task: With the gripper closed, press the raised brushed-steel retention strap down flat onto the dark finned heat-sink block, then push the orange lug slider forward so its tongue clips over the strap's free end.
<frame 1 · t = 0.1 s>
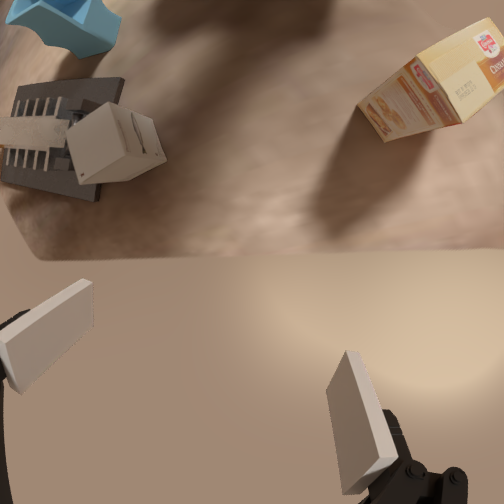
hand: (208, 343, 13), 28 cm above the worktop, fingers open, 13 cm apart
vase: (100, 36, 34), on the worktop
heatsink: (55, 134, 38), on the worktop
strap: (18, 131, 27), point 12 cm above the worktop, hinge at 30.0°
supplement box: (140, 149, 39), on the worktop
coffeecake box: (404, 100, 33), on the worktop
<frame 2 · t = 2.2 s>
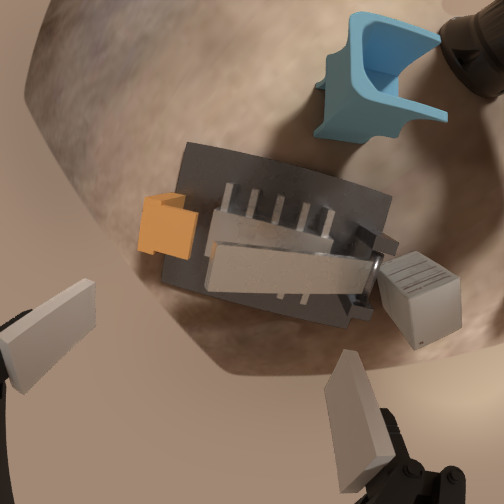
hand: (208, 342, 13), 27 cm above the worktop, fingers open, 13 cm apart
vase: (343, 113, 34), on the worktop
heatsink: (280, 239, 39), on the worktop
strap: (310, 273, 28), point 12 cm above the worktop, hinge at 30.0°
lug slider: (178, 224, 34), point 6 cm above the worktop, slide at 0.0 cm
supplement box: (399, 278, 39), on the worktop
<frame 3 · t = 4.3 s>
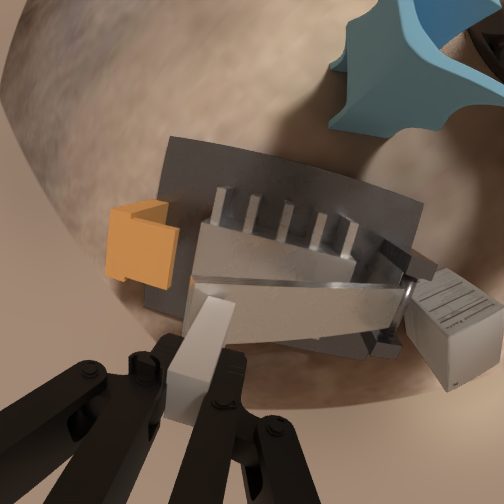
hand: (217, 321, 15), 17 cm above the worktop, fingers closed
vase: (363, 101, 26), on the worktop
heatsink: (287, 257, 31), on the worktop
strap: (328, 310, 20), point 12 cm above the worktop, hinge at 29.2°, touching gripper
lug slider: (157, 240, 26), point 6 cm above the worktop, slide at 0.0 cm
supplement box: (426, 300, 31), on the worktop
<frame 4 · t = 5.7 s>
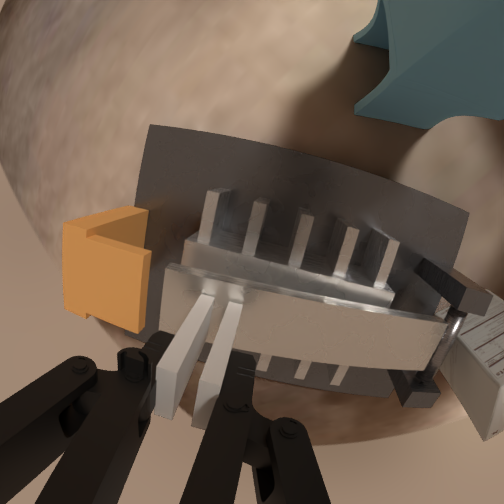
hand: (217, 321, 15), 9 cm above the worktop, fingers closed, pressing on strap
vase: (396, 82, 19), on the worktop
heatsink: (301, 279, 24), on the worktop
strap: (333, 332, 16), point 8 cm above the worktop, hinge at 6.1°, touching gripper
lug slider: (130, 262, 19), point 6 cm above the worktop, slide at 0.0 cm
supplement box: (461, 326, 24), on the worktop
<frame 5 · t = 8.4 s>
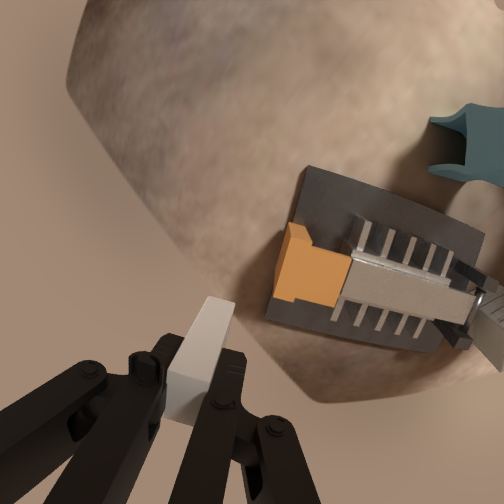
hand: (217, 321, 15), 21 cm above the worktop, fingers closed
vase: (451, 150, 30), on the worktop
heatsink: (391, 273, 35), on the worktop
strap: (422, 296, 29), point 7 cm above the worktop, hinge at 0.2°
lug slider: (309, 262, 30), point 6 cm above the worktop, slide at 0.0 cm
supplement box: (477, 305, 35), on the worktop
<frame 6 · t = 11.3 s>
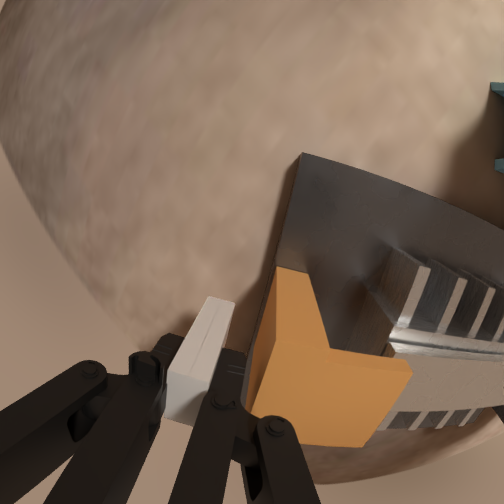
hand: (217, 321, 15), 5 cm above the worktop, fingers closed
heatsink: (435, 333, 20), on the worktop
strap: (489, 382, 13), point 7 cm above the worktop, hinge at 0.2°
lug slider: (316, 355, 14), point 6 cm above the worktop, slide at 0.7 cm, touching gripper
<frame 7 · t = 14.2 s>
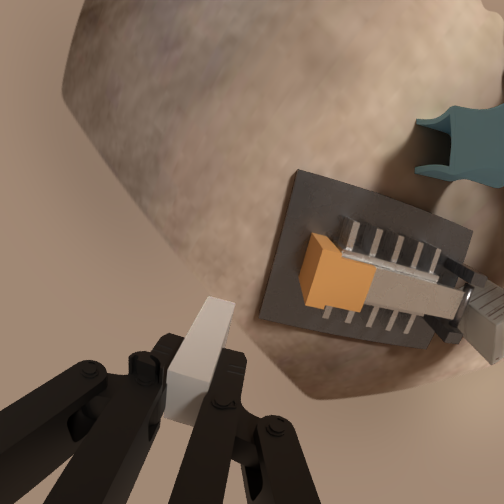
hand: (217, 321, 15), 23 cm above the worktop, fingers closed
vase: (437, 151, 32), on the worktop
heatsink: (381, 272, 37), on the worktop
strap: (411, 293, 30), point 7 cm above the worktop, hinge at 0.2°
lug slider: (334, 271, 32), point 6 cm above the worktop, slide at 4.0 cm
supplement box: (467, 301, 37), on the worktop
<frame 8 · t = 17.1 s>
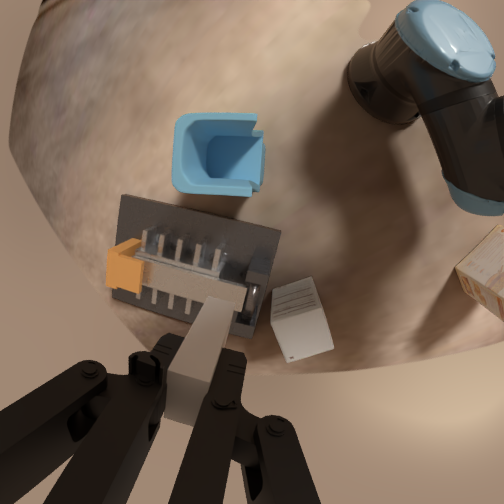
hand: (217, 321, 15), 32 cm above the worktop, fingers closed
vase: (239, 163, 45), on the worktop
heatsink: (192, 267, 49), on the worktop
strap: (190, 284, 43), point 7 cm above the worktop, hinge at 0.2°
lug slider: (134, 265, 44), point 6 cm above the worktop, slide at 4.0 cm
supplement box: (297, 299, 50), on the worktop
coffeecake box: (481, 257, 44), on the worktop
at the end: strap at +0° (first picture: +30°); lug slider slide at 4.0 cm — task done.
